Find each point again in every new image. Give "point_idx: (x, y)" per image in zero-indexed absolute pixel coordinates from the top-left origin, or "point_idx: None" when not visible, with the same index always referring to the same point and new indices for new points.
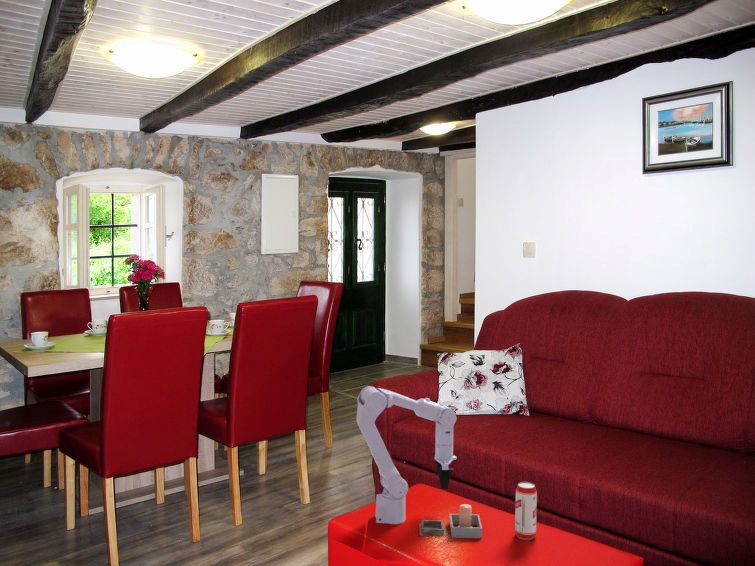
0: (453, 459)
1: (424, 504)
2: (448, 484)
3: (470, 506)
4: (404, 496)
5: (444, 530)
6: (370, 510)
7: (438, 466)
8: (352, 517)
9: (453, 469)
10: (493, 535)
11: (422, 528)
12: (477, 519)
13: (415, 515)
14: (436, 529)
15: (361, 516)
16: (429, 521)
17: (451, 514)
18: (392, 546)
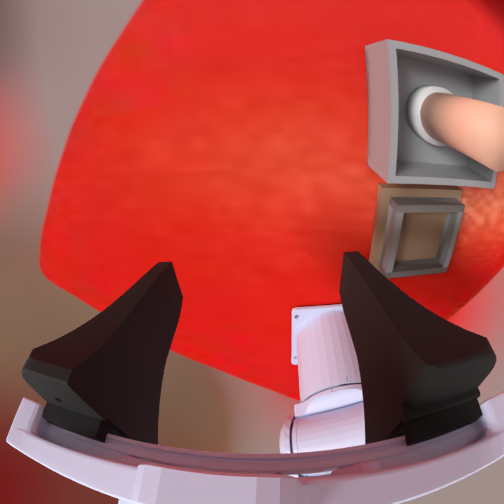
0: (301, 489)
1: (165, 260)
2: (375, 270)
3: (502, 112)
4: (358, 382)
5: (429, 193)
6: (252, 372)
7: (156, 390)
8: (297, 390)
9: (489, 358)
10: (426, 13)
11: (442, 271)
12: (402, 51)
13: (271, 283)
14: (457, 230)
15: (291, 380)
16: (395, 252)
17: (394, 175)
18: (454, 311)
